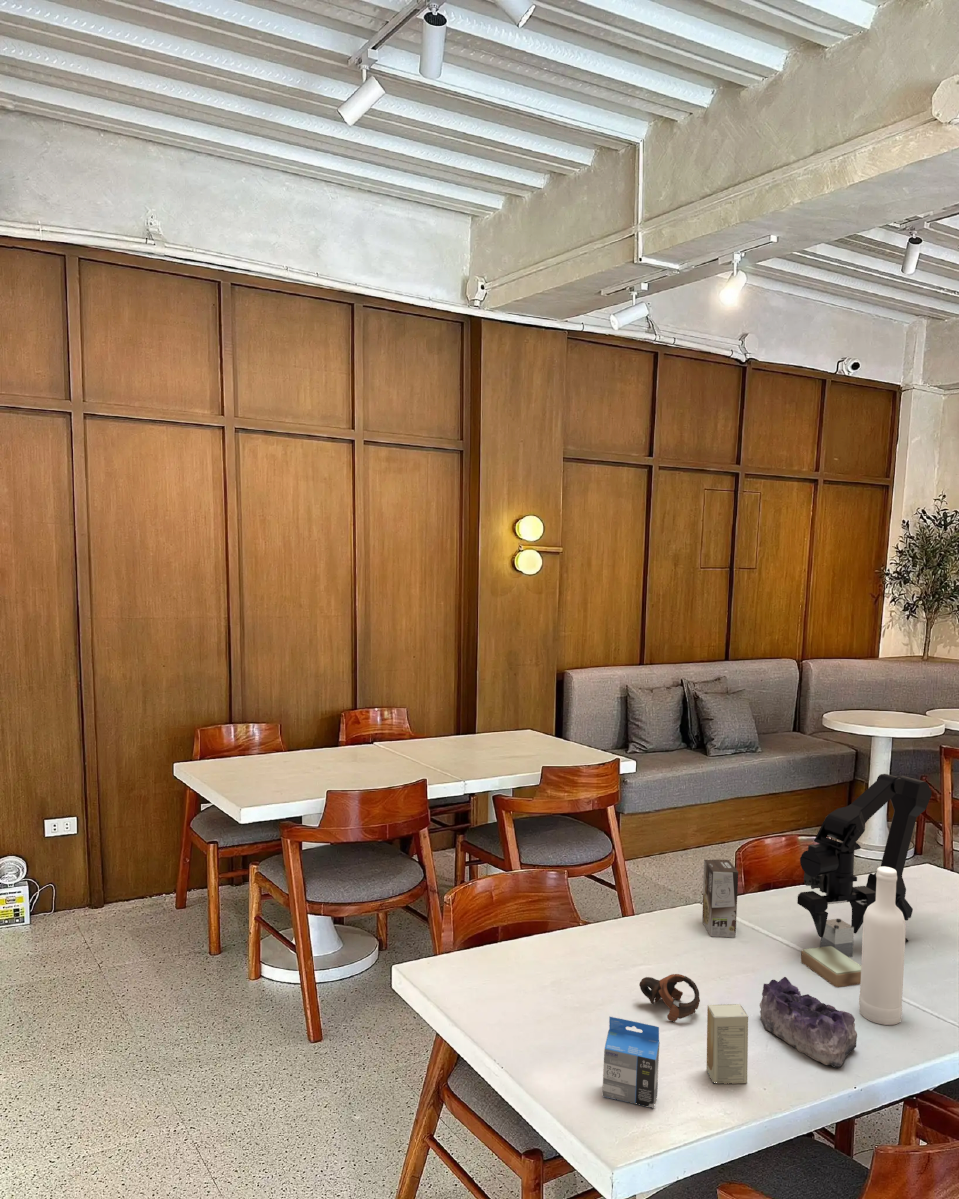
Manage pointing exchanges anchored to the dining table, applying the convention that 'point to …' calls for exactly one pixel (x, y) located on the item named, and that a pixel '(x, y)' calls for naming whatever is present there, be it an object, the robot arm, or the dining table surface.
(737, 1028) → the skincare box
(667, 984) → the brown curved loop piece
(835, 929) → the block
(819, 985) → the dining table surface
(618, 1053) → the label tape box
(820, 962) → the riser
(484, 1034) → the dining table surface
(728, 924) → the coffee box
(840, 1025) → the geode
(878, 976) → the bottle
